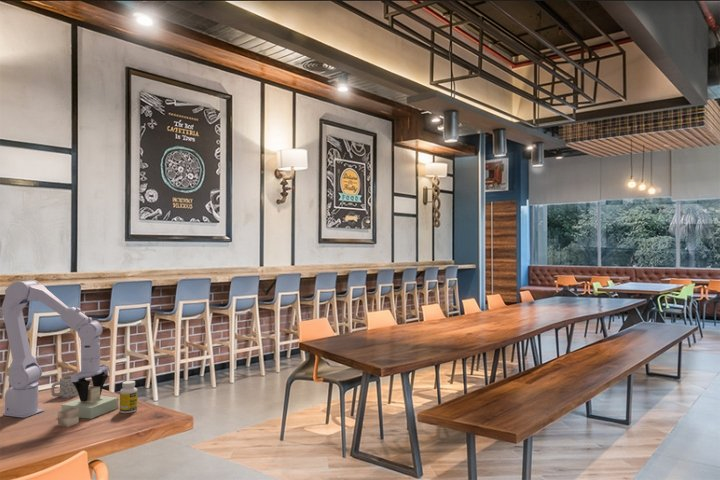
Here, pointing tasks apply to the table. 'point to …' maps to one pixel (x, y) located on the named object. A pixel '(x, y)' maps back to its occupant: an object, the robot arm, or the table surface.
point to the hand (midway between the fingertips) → (90, 398)
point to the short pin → (68, 417)
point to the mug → (65, 388)
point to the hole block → (93, 406)
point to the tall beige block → (92, 395)
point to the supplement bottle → (128, 397)
